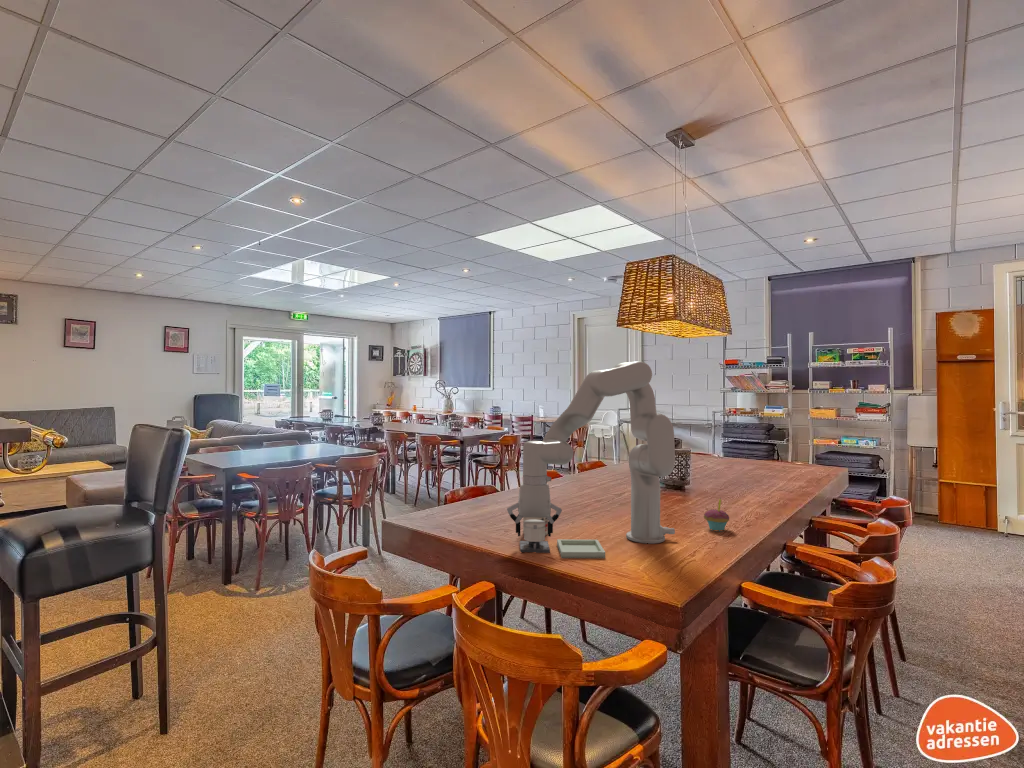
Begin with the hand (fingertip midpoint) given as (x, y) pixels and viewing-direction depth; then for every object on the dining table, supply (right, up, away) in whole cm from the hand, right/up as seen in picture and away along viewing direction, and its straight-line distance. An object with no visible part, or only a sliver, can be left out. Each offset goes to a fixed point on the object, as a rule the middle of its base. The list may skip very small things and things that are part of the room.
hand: (534, 535), depth 161 cm
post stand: (0, -4, 0) cm, 4 cm away
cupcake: (+67, -5, +24) cm, 71 cm away
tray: (+14, -4, -3) cm, 15 cm away
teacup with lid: (+2, -5, +18) cm, 19 cm away
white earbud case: (0, -1, 0) cm, 1 cm away
